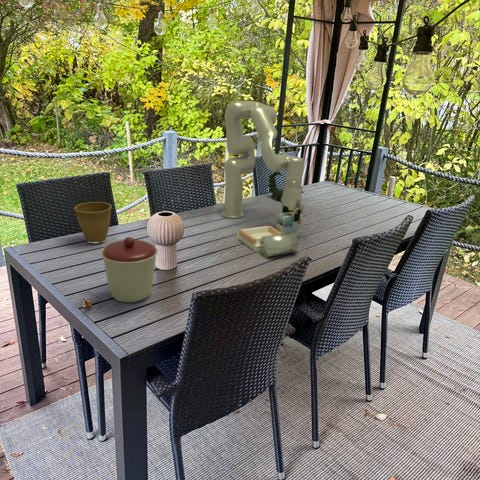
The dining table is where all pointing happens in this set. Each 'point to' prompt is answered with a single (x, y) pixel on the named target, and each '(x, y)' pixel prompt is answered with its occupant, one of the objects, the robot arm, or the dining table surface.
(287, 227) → the light bulb box
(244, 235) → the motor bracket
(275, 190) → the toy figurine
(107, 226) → the plant pot
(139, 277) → the canister
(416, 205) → the dining table surface
